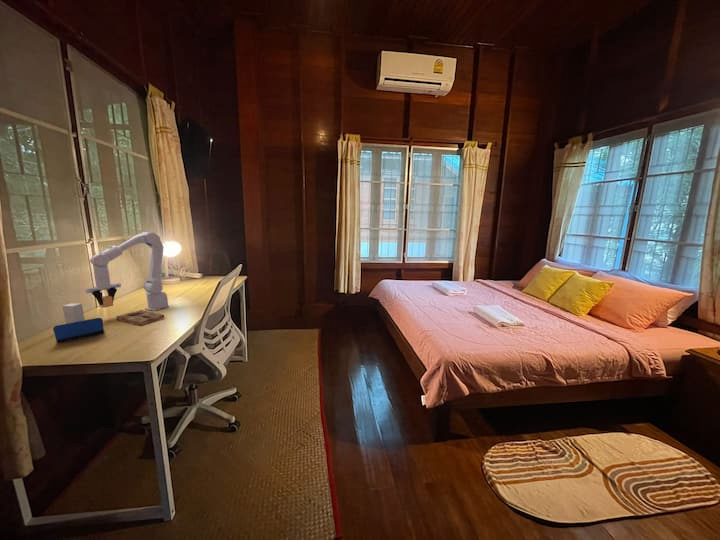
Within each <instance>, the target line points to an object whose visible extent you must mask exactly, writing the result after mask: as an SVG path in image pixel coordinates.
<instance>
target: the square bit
mask: <svg viewBox="0 0 720 540" xmlns="http://www.w3.org/2000/svg"><path fill="white" fill-rule="evenodd" d="M102 301H103V305H99V307H100V308H103V309H104V308H109V307H113V306H114V300H112V296H108V295H104V296H103V295H102Z"/></svg>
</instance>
